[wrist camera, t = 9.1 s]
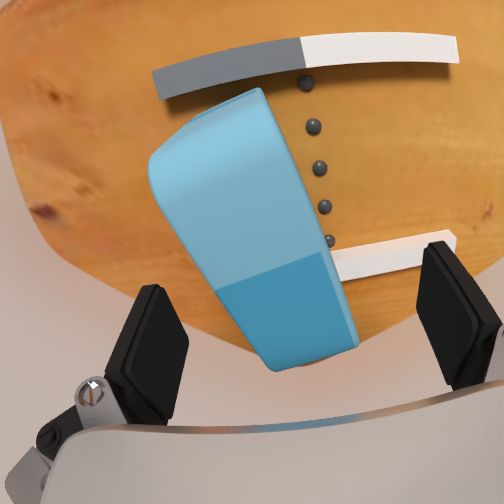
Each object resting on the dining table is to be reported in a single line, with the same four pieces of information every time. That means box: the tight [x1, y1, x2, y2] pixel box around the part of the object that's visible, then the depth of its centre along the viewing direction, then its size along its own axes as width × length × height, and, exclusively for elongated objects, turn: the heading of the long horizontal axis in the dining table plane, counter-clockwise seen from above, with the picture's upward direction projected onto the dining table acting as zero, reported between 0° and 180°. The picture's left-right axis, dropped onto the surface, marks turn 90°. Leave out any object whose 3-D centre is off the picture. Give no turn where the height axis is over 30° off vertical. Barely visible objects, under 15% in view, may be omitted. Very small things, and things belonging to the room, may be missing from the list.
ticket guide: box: [152, 32, 459, 281], centre depth 20 cm, size 20×18×2 cm
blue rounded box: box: [148, 88, 360, 372], centre depth 17 cm, size 12×4×12 cm, turn 25°
